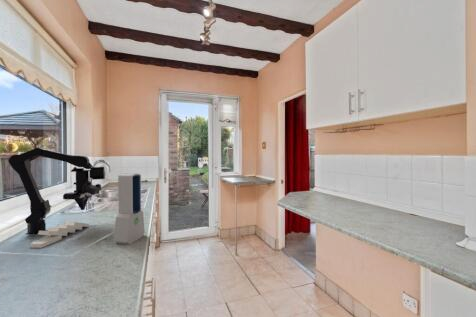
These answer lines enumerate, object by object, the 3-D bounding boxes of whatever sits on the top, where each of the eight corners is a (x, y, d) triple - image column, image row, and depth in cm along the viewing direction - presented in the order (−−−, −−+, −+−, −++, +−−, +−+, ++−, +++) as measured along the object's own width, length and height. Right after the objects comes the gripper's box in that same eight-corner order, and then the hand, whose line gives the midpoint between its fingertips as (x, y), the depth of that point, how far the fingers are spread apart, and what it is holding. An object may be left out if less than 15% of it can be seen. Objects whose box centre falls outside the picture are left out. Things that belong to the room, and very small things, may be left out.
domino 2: (51, 238, 106) (29, 247, 96) (51, 235, 106) (29, 243, 96) (61, 239, 105) (41, 247, 95) (61, 235, 105) (41, 244, 95)
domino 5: (79, 226, 123) (64, 225, 114) (79, 223, 124) (65, 221, 114) (88, 226, 123) (74, 225, 113) (88, 223, 123) (75, 222, 114)
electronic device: (127, 245, 100) (127, 174, 99) (112, 243, 101) (111, 174, 101) (145, 235, 112) (144, 172, 111) (131, 234, 113) (130, 172, 113)
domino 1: (56, 235, 110) (37, 234, 100) (57, 231, 110) (39, 230, 101) (66, 235, 109) (48, 234, 100) (67, 232, 110) (49, 230, 100)
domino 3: (65, 232, 114) (47, 231, 105) (66, 229, 115) (49, 227, 105) (74, 232, 114) (58, 231, 104) (75, 229, 114) (59, 227, 105)
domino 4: (72, 229, 119) (56, 228, 109) (73, 226, 119) (57, 224, 110) (81, 229, 118) (66, 228, 109) (82, 226, 119) (67, 224, 109)
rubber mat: (36, 242, 103) (36, 241, 103) (77, 225, 127) (77, 224, 127) (61, 243, 102) (61, 241, 102) (98, 226, 126) (98, 225, 126)
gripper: (83, 182, 112) (84, 214, 112) (108, 178, 131) (108, 206, 131) (61, 182, 113) (62, 214, 113) (89, 178, 131) (90, 205, 132)
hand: (82, 209), depth 122 cm, fingers closed
